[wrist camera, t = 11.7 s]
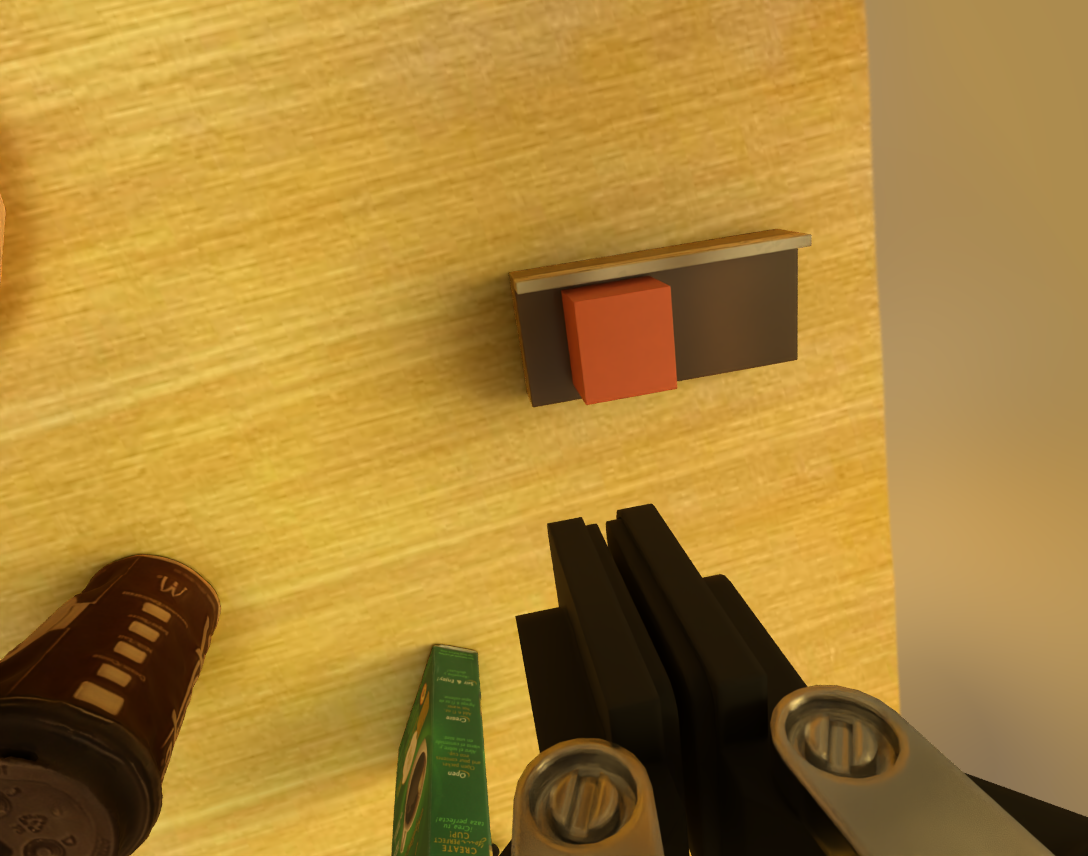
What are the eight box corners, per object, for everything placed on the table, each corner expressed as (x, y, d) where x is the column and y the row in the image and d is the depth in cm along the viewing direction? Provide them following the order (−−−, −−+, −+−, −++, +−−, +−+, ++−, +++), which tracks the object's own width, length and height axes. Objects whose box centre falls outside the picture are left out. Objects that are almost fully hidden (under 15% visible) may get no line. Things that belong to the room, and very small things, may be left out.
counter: (527, 394, 33) (535, 416, 30) (508, 272, 31) (515, 282, 28) (778, 349, 34) (810, 366, 31) (777, 228, 32) (811, 234, 29)
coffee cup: (54, 664, 35) (-153, 926, 23) (57, 522, 32) (-175, 734, 20) (234, 681, 36) (132, 931, 24) (250, 548, 34) (145, 756, 22)
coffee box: (442, 758, 40) (444, 1009, 28) (395, 751, 40) (376, 1006, 28) (481, 650, 38) (501, 873, 26) (431, 641, 37) (428, 866, 25)
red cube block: (573, 384, 31) (586, 405, 28) (560, 289, 29) (573, 302, 27) (656, 369, 31) (677, 388, 29) (649, 275, 30) (670, 285, 27)
